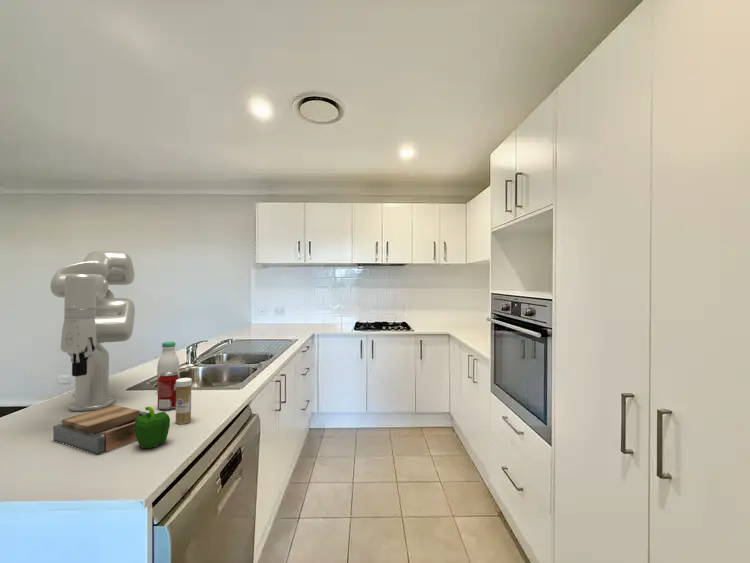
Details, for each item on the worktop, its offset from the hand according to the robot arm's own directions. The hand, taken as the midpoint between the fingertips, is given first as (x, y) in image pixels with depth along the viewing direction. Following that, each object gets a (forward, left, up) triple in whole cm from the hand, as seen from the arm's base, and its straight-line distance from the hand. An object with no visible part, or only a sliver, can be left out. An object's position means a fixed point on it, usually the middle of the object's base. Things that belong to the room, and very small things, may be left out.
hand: (79, 375), depth 113 cm
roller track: (+15, 0, -16) cm, 21 cm away
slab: (+11, 0, -13) cm, 17 cm away
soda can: (+9, +23, -16) cm, 29 cm away
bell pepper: (+31, +1, -16) cm, 35 cm away
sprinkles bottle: (+25, +16, -16) cm, 33 cm away
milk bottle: (-7, +35, -16) cm, 39 cm away
